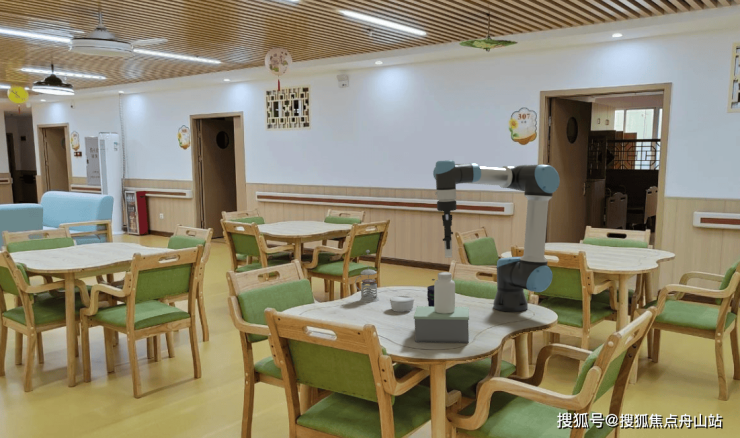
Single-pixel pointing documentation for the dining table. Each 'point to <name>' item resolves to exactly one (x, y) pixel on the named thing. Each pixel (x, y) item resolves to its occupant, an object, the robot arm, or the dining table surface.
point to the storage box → (441, 331)
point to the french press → (368, 286)
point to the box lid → (430, 313)
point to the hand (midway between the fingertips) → (448, 254)
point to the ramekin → (402, 303)
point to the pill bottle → (444, 293)
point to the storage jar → (430, 295)
